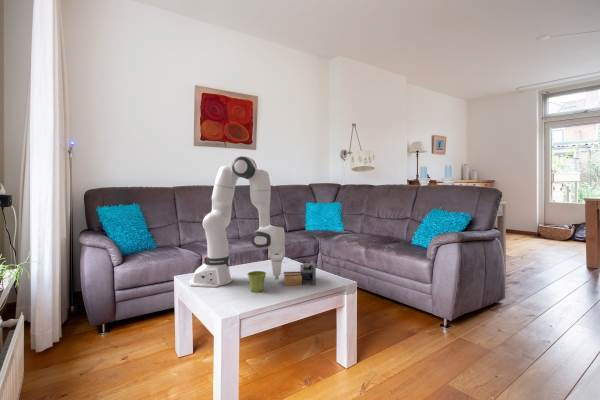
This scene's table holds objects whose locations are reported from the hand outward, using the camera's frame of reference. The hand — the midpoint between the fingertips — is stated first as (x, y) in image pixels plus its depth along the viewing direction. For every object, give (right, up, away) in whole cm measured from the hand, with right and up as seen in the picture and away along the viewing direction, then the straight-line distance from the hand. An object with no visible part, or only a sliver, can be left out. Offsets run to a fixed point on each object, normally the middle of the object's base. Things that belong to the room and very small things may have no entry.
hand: (276, 278), depth 174 cm
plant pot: (-9, -3, -11) cm, 15 cm away
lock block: (+8, -2, +1) cm, 9 cm away
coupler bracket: (+17, -2, +1) cm, 18 cm away
